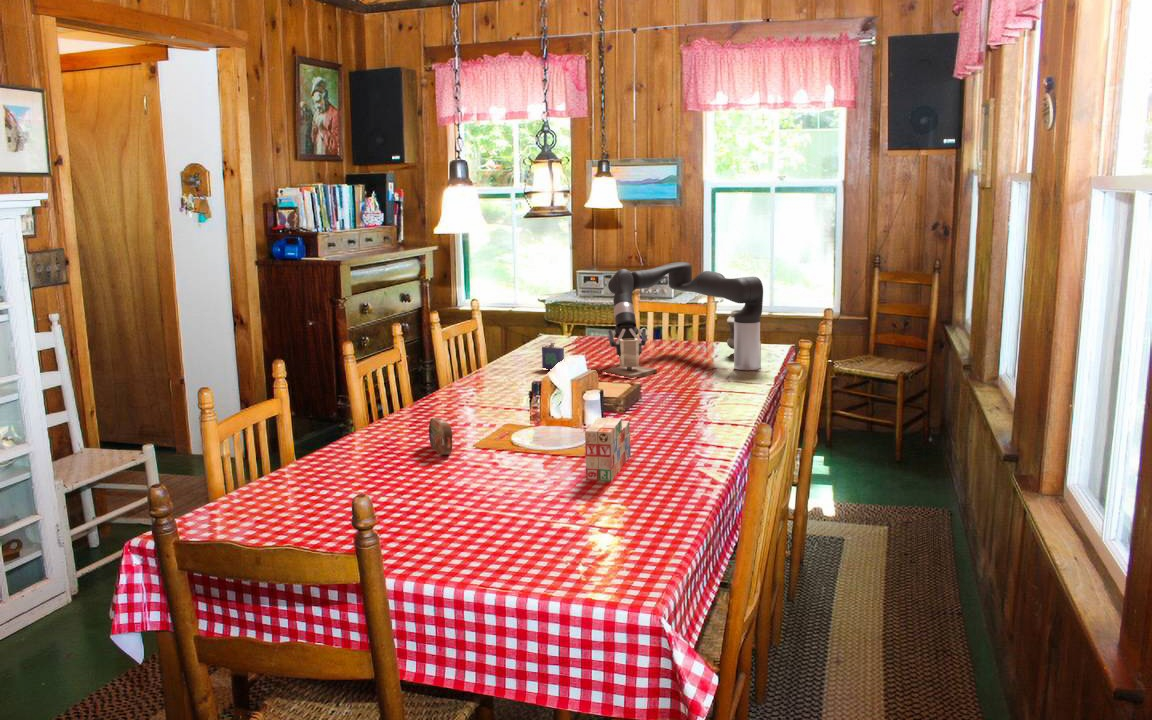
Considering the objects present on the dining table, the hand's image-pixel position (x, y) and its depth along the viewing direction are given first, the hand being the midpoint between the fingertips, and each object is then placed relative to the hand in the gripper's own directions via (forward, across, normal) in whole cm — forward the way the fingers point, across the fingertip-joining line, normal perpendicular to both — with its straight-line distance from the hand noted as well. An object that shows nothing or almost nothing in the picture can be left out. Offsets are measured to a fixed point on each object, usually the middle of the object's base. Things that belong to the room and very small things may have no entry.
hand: (629, 354), depth 334 cm
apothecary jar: (-12, -47, -23) cm, 54 cm away
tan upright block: (+2, 0, -4) cm, 5 cm away
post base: (+4, 0, -6) cm, 8 cm away
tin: (+66, +61, +56) cm, 106 cm away
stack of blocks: (+81, +19, +71) cm, 109 cm away
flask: (-4, +27, -15) cm, 31 cm away
